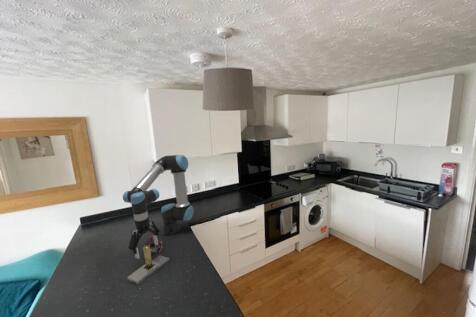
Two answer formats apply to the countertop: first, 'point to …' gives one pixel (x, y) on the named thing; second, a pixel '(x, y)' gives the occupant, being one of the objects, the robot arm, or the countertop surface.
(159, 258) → the lower link
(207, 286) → the countertop surface
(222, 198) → the countertop surface
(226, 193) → the countertop surface
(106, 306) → the countertop surface
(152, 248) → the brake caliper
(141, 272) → the light grey flat block
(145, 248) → the pin
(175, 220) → the robot arm
